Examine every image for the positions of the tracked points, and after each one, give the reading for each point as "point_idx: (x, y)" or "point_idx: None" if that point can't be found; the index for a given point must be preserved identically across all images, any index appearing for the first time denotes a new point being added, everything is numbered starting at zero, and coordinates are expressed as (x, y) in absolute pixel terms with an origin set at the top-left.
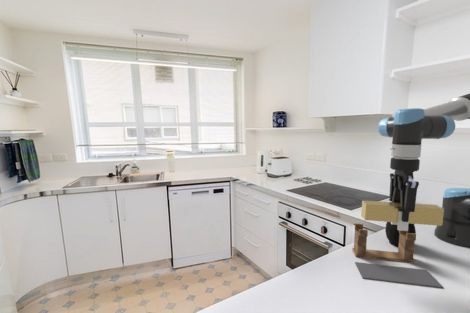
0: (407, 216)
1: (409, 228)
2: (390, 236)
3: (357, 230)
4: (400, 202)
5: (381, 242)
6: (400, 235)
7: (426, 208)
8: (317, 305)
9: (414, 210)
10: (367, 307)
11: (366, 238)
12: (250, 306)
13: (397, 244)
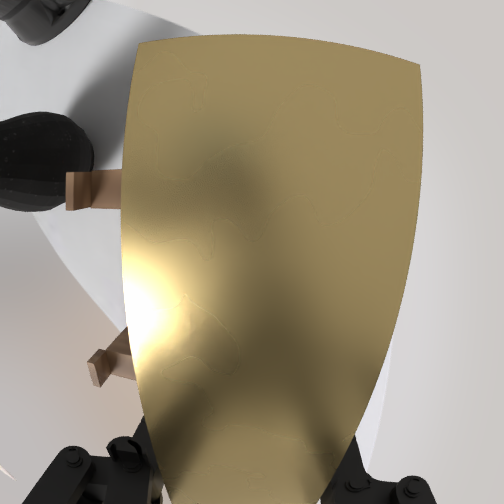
0: (355, 454)
1: (49, 143)
2: (64, 202)
3: (114, 369)
4: (151, 488)
5: (71, 217)
6: (102, 208)
7: (374, 363)
8: (369, 440)
9: (428, 487)
10: (385, 379)
11: None
12: None
13: None
